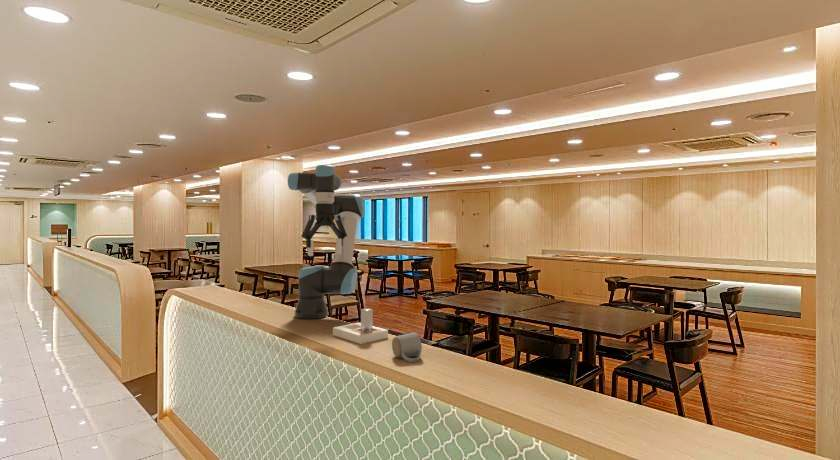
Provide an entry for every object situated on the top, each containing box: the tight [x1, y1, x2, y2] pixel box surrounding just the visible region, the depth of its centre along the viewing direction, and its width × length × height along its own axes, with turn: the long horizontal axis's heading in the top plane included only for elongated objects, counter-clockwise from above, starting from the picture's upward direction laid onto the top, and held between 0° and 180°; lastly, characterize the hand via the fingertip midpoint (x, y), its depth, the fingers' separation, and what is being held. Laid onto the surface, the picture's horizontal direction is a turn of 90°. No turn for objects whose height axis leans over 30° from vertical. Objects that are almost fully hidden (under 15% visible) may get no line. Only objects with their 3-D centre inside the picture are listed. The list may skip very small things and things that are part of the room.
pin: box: [360, 308, 374, 333], centre depth 176 cm, size 4×4×11 cm
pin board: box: [332, 321, 389, 345], centre depth 179 cm, size 18×13×3 cm
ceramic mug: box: [391, 332, 423, 363], centre depth 152 cm, size 11×8×8 cm
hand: (325, 255), depth 189 cm, fingers open, 13 cm apart
